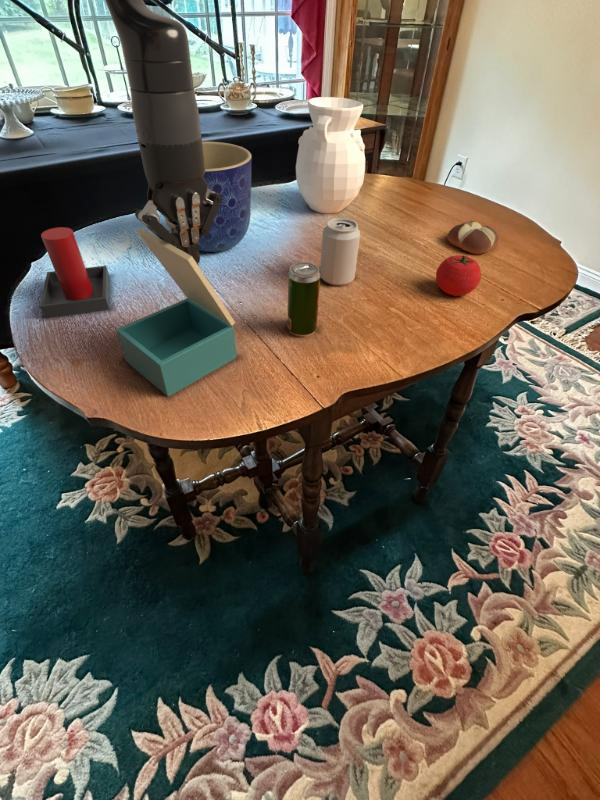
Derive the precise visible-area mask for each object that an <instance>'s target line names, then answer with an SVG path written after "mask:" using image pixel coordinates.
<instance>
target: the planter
mask: <svg viewBox="0 0 600 800" xmlns="http://www.w3.org/2000/svg"><path fill="white" fill-rule="evenodd" d="M202 146H203V155H204V164H205V174H204V175H203V176H204V179H205V180H206V182H207V185H208V189H210V190H211V191H214V192H216V193H218V194H221V195H222V202H221V204H220V206H219V209H218V211H217V213H216V216H215V218H214V221H213V223H212V225H211V228H210V230H209V232H208V234H207V235H202V236H201V237H200V238H199V241H198V247H199V252H203V253H216V252H217V253H218V252H223V251H226V250H229V249H231V248H233V247H235V246H237V245H238V244H239V243H240V242H241V241H242V240H243V239H244V238H245V236H247V235H246V234H247V233H248V230H249V226H250V222H251V215H252V214H251V213H252V207H251V206H252V161H253V160H252V159H253V157H252V153H251V152H250V151H249V150H248V149H246V148H244V147H243V146H239V145H236V144H232V143H228V142H227V143H226V142H221V141H220V142H219V141H202ZM204 219H205V218H204ZM203 221H204V220H203ZM202 224H203V223H202Z"/></svg>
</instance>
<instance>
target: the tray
mask: <svg viewBox="0 0 600 800" xmlns="http://www.w3.org/2000/svg"><path fill="white" fill-rule="evenodd" d="M85 268H86V271H87V274H88V277H89V279H90V282H91V285H92V288H93V294H92V295H91V296H90V297H88V298H86V299H83V300H69V299H67V298H66V297H65V295H64V292H63V290H62V287H61V285H60V282H59V280H58V277H57V275H56V272H55V270H53V271H47V272H46V276H45V280H44V285H43V290H42V294H41V299H40V304H39V309H40V310H41V312H42V314H43V317H44V319H51V318H59V317H66V316H74V315H75V316H76V315H81V314H90V313H96V312H97V313H98V312H104V311H105V312H106V311H110V310H111V309H110V308H111V307H110V304H111V303H110V302H111V301H110V300H111V299H110V297H111V296H110V293H111V291H110V289H111V288H110V287H111V286H110V285H111V282H110V281H111V280H110V278H111V276H110V274H109V273H110V272H109V270H108V267H107V265H100V266H99V265H98V266H90V267H85Z"/></svg>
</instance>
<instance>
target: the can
mask: <svg viewBox="0 0 600 800" xmlns="http://www.w3.org/2000/svg"><path fill="white" fill-rule="evenodd" d="M321 238H322V239H321V252H320V253H321V254H320V268H319V273H320V279H322V280H323V281H324V282H325V283H326V284H328V285H331V286H338V287H341V286H346V285H348V284H350V283H352V282H353V281H354V280H355V277H356V270H357V264H358V263H357V262H358V254H359V249H360V247H359V246H360V238H361V231H360V229H359V224H358V223H357V222H356V220H353V219H349V218H345V217H337V218H332V219H329V220H328V221H327V222H326V226H325V227H323V230H322V237H321Z"/></svg>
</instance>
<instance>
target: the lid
mask: <svg viewBox="0 0 600 800" xmlns="http://www.w3.org/2000/svg"><path fill="white" fill-rule="evenodd" d="M137 233H138V235H139V236H140V237H141V238H142V240H143V241H144V243H145V244H146V245H147V247H148V248H149V249H150V251H151V252H152V253H153V255H154V256H155V258H156V259H157V260H158V261H159V263H160V264H161V266H162V267H163V268H164V269H165V271H166V272H167V274H168V275H169V276H170V277H171V279H172V280H173V281H174V283H175V284H176V285H177V287H178V288H179V290H180V291H181V292H182V293H183V295H184V296H185V297H186V299H187V298H189V299H190V300H192V301H193V302H195V303H197V304H198V305H200V306H201V307H203V308H204V309H206V310H207V311H209V312H211V313H212V314H214V315H215V316H217V317H218V318H220V319H221V320H223V321H225V322H226V323H228V324H229V325H231V326H233V327H234V325H235V324H236V321H235V320H234V319H233V316H231V313H230V312H229V311H228V310H227V307H226V306H225V305H224V303H223V302H222V300H221V299H220V297H219V296H218V294H217V291H215V289H214V288H213V286H212V285H211V282H209V280H208V278H207V277H206V276H205V274H204V273H203V271H202V269H201V268H200V266H199V264H198V265H197V263H196V262H195V260H194V259H193V257H192V256H190V255H189V254H187V253H185V252H183V251H182V250H180V249H178V248H176V246H175V247H174V246H173V245H171V244H169V243H167V242H165V241H164V240H162V239H160V238H159V237H158V236H157V235H155V234H154V233H152V232H149V231H148V230H146V229H144V228H143V227H140V228H139V229H138V230H137Z"/></svg>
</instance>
